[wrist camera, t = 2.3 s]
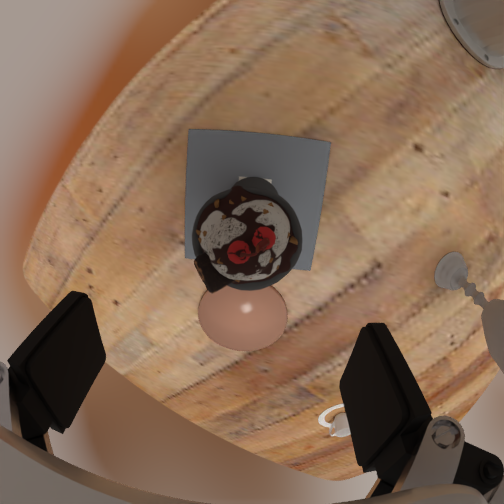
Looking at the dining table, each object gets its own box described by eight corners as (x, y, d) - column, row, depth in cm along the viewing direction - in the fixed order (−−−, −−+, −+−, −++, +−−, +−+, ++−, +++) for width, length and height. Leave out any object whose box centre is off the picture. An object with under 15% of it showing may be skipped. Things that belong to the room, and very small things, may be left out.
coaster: (199, 271, 29) (197, 275, 29) (293, 280, 29) (294, 284, 29) (200, 341, 33) (199, 346, 33) (280, 349, 33) (280, 354, 32)
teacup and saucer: (365, 393, 38) (370, 412, 34) (369, 415, 40) (373, 432, 37) (313, 409, 39) (315, 429, 35) (323, 429, 42) (325, 446, 38)
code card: (189, 129, 24) (188, 129, 23) (330, 142, 23) (330, 142, 23) (185, 257, 29) (185, 258, 28) (310, 269, 29) (310, 270, 28)
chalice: (419, 289, 29) (496, 398, 13) (441, 238, 26) (545, 330, 10) (455, 297, 29) (527, 389, 13) (476, 252, 27) (566, 332, 10)
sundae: (287, 164, 24) (317, 202, 11) (289, 234, 27) (312, 337, 13) (214, 169, 25) (153, 212, 11) (221, 237, 27) (182, 340, 14)
